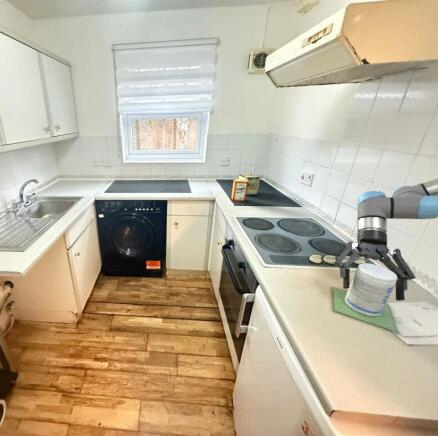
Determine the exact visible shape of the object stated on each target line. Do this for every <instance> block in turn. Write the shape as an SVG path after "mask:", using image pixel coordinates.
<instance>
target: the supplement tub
mask: <svg viewBox="0 0 438 436" xmlns="http://www.w3.org/2000/svg"><path fill="white" fill-rule="evenodd" d="M397 279H398V278H397V275H396V274H395V273H393V272H392V271H390V270H389V269H388V268H387V267H384V266H381V265H378V264H375V263H368V262H367V263H366V262H363V263H360V264H358V266H357V268H356V270H355V272H354V275H353V277H352V280H351V282H350V283H349V288H348V290H347V291H346V292H347V295H346V297H345V302H346V303H347V305H348V306H349V307H350V308H352V309H353V310H355V311H356V312H358V313H361V314H364V315H367V316H378V315H380V314H381V313H382V311H383V309H384V306H385V304H387V302H388V300H389V298H390V296H391V294H392V292H393V290H394V287H395V283H396V280H397Z"/></svg>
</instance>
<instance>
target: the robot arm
mask: <svg viewBox="0 0 438 436" xmlns="http://www.w3.org/2000/svg"><path fill="white" fill-rule="evenodd" d="M437 218H438V177H437V178H434V179H430V180H428V181H424V182H421V183H418V184H414V185H411V186H410V185H404V186H400V187H398V188H396V189H395V190H394V191H393V192H392V195H391V197H390V196H387V195H386V193H385V192H383V191H380V190H378V191H377V190H369V191H365V192H362V193H361V194H359V196H358V198H357V233H356V234H357V235H356V238H357V239H356V243H354V241H352V240H350V241H348V242H347V243H346V244H345V247H344V249H343V250H342V252H341V253H340V255H339V256H338V257H337V259H336V260H335V261H334V263H333V266H334V267H338V269H339V276H340V279H342V280H343V281H342V290H344V289H345V290H347V289H348V290H349V287H350V284H351V282H350V278H351V275H350V274H351V269H350V268H349V266H350V265H352V264H353V263H355V262H356V261H357V260H359V259H360V258H362V257H363V258H364V259H371V260H373V261H379V262H380V263H381V264H383V265H384V266H385V268H386V269H389V270H390V271H392V272H393V273H395V274H396V275H397V280H396V283H395V286H394V287H395V300H396V301H398V302H402V301H405V300H406V299H405V291H408V290H409V289H408V288H409V287H408V281H411V280H415V279H416V275H415V274H414V272H413V271H412V269H411V268H410V266H409V265H408V263H407V262H406V260H405V259H404V257H403V256H402V253H401V249H400V248H394V249H393V248H392V249H390V248H389V247H388V225H387V223H388V222H387V220H389V219H391V220H432V219H433V220H434V219H437ZM353 249H356V250H357V252H358V253H356V254H355V255H353V256H352V257H351V258H349V259H348V260H347V261H345V262H344V263H342V262H343V261H344V260H345V259H346V257H347V256H348V255H349V254H350V253H351V251H352V250H353ZM388 254H389V255H388ZM391 257H392V259H391Z"/></svg>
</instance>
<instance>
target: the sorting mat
mask: <svg viewBox="0 0 438 436" xmlns="http://www.w3.org/2000/svg"><path fill="white" fill-rule="evenodd" d="M347 292H348V291H346V290H344V289H339V288H336V287H333V304H334V305H333V306H334V312H335V313H339V314H342V315H344V316H347V317H349V318H353V319H355V320H359V321H361V322H365V323H368V324H371V325H374V326H376V327H379V328H383V329H385V330H388V331H391V332H394V333H397V329H396V326H395V323H394V319H393V318H392V315H391V311H390V309H389V308H390V307H389V305H388V303H386V304H385V306H384V309H383V311H382V313H381V314H380V315H378V316H367V315H364V314H361V313H358V312H356V311H355V310H353V309H352V308H350V307H349V306H348V305H347V303H346V302H345V297H346V295H347Z"/></svg>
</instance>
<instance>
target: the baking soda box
mask: <svg viewBox="0 0 438 436" xmlns="http://www.w3.org/2000/svg"><path fill="white" fill-rule="evenodd" d="M247 188H248V181H247V180H241V179H239V178H235V179H233V183H232V188H231V189H232V190H231V196H230V200H231V201H232V202H246V199H247V196H246V194H247Z"/></svg>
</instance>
